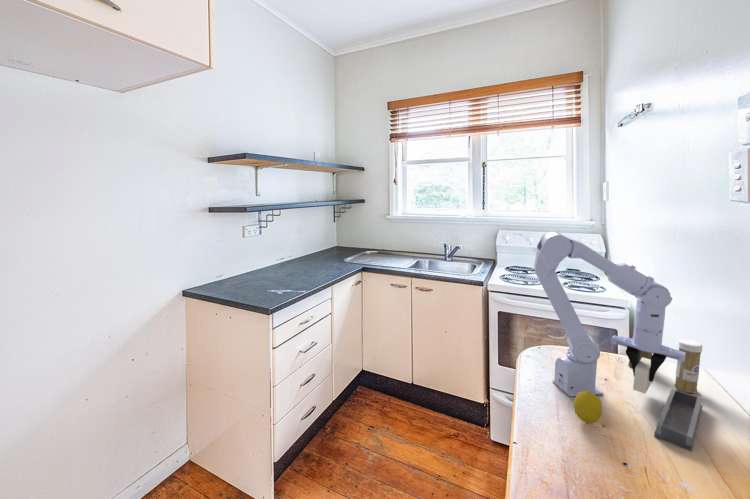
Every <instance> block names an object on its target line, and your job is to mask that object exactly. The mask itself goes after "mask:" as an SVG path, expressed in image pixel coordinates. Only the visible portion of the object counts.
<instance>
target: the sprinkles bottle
mask: <svg viewBox="0 0 750 499" xmlns="http://www.w3.org/2000/svg"><path fill="white" fill-rule="evenodd" d="M677 347H678V350H679V351H682V352H686V354H685V361H684V362H680V361H678V360H677V359H676V361H677V362H676V368H675V369H676V370H675V381H674V382H675V383H674V388H675V389H676V390H679V391H682V392H686V393H689V394H696V393H698V381H699V375H700V365H701V364H700V363H701V361H700V360H701V353H702V352H703V344H702V343H701V342H698V341H696V340H692V339H688V338H687V339H686V338H684V339H683V338H682V339H679V341H678V345H677Z"/></svg>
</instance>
